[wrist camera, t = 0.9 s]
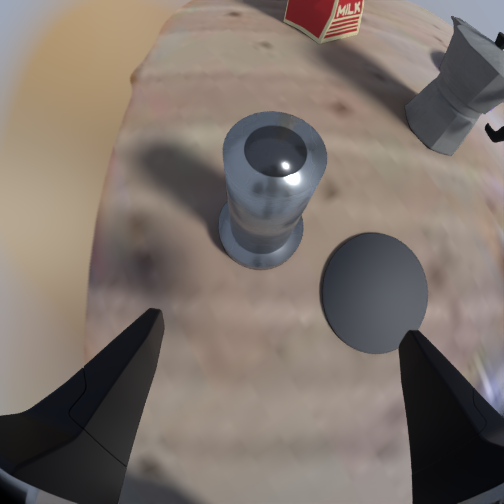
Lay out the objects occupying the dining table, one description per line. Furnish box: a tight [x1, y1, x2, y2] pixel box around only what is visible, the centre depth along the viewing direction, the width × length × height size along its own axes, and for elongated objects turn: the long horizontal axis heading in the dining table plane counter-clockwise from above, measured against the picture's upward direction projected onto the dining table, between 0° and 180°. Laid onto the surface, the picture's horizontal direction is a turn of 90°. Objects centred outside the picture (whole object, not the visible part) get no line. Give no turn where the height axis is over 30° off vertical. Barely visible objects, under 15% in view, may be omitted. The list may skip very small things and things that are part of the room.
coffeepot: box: [405, 16, 504, 156], centre depth 21 cm, size 15×9×18 cm, turn 17°
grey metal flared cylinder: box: [218, 111, 327, 270], centre depth 19 cm, size 7×7×13 cm
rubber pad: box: [322, 233, 428, 354], centre depth 24 cm, size 11×11×1 cm
